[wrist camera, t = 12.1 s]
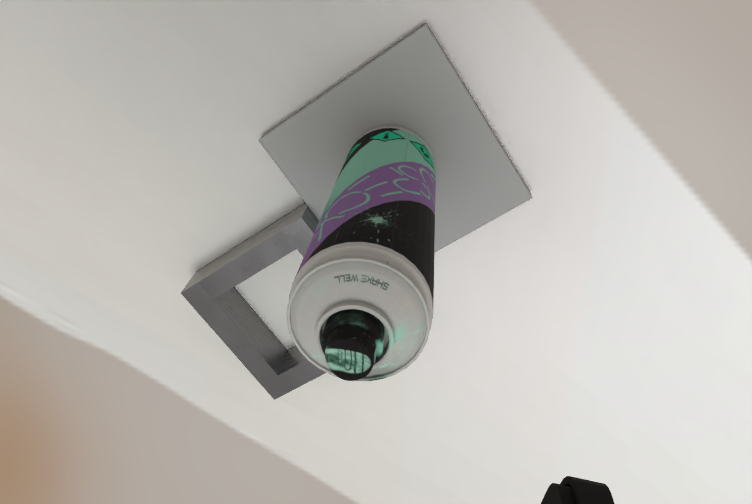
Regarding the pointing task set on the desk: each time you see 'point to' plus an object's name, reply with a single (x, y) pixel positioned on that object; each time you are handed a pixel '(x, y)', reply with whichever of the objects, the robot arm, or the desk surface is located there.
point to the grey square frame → (238, 319)
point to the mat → (412, 111)
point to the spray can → (370, 262)
